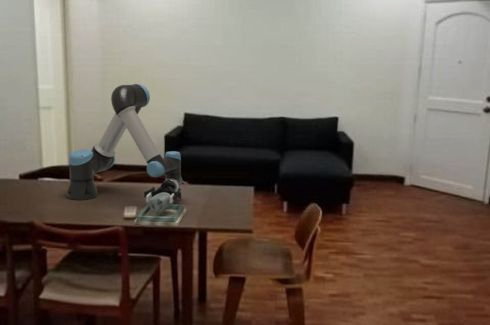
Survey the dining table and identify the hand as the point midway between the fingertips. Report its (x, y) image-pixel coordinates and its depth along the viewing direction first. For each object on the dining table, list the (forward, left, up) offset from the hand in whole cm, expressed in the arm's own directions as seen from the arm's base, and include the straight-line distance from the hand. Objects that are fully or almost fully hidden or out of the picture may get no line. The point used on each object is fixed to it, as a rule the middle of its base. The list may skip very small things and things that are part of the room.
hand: (158, 199), depth 242 cm
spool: (0, +4, -7) cm, 8 cm away
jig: (0, +4, -10) cm, 11 cm away
